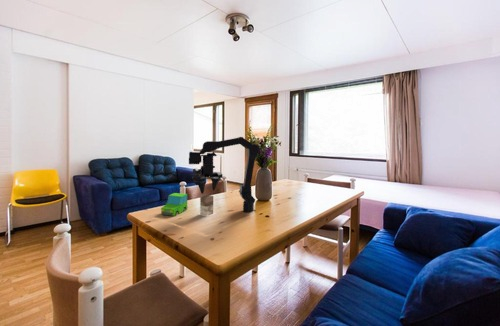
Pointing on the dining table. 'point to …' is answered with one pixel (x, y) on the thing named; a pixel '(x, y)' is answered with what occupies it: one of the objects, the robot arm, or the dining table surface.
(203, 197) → the walnut block
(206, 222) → the dining table surface
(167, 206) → the toy car
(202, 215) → the board
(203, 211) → the beech block
